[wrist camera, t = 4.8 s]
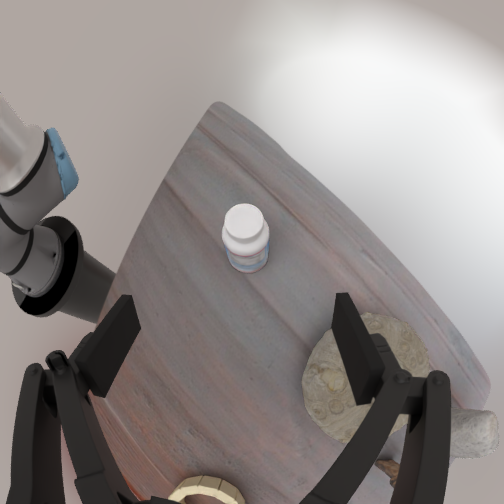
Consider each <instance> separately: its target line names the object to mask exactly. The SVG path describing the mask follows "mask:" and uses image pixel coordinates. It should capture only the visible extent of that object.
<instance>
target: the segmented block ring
mask: <svg viewBox="0 0 504 504" xmlns="http://www.w3.org/2000/svg"><path fill="white" fill-rule="evenodd" d="M221 480H222V479H220V478H215V477H210V476H205V475H204V477H203V475H202V476H197V477H191V478H187V479H185V480H184V481H183V482H182V483H181V484H179V485H178V486H177V487H176V489H175V490H174V491H173V492H172V494H171V495H170V496H169V498H168V500H174V501H177V502H179V503H182V504H186V503H185V501H184V499H185V496H186V495H193V494H199V493H200V494H205V495H209V496H214V497H216V498H218V499H219V500H221V501H223V502H224V503H226V504H245V500H244V498H243V496H242V495H241V493H240V491H239V489H237V488H236V487H235V486H233V485H231V484H230V483H228V482H227V481H225V480H222V481H221Z"/></svg>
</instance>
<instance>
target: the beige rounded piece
mask: <svg viewBox="0 0 504 504" xmlns="http://www.w3.org/2000/svg"><path fill="white" fill-rule="evenodd" d="M360 316H361V318H362V320H363V322H364V324H365V326H366V328H367V330H368V332H369V334H374V333H380V334H381V335H382V336H383V337H384V338H385V339H386V340H387V342H388V344H389V346H390V348H391V351H393V353H394V355H395V357H396V359H397V361H398V363H399V365H400V367H401V368H402V369H405V370H407V371H409V372H410V373H411V374H412V376H413V377H427V376H428V374H429V369H430V367H429V363H428V360H429V358H428V354H427V349H426V348H425V344H424V342H423V341H422V340H421V339H420V338H419V337H418V335H417V334H416V332H415V331H414V330H413V329H412V328H411V327H410V326H409V325H408V323H407V322H402V321H400V320H398V319H395V318H392V317H389V316H386V315H379V314H370V313H369V312H366V313H364V314H362V315H360ZM301 383H302V389H303V397H304V403H305V407H306V409H307V411H308V413H309V414H310V416H311V419H312V420H313V421H314V422H315V423H317V424H318V425H319V427H320V429H321V430H322V431H324V432H325V433H326V434H327V435H328V436H330V437H331V438H333V439H336V440H338V441H339V442H341V443H345V442H346V443H349V441H350V440H351V438H352V437H353V435H354V434H355V432H356V431H357V429H358V428H359V426H360V424H361V423H362V421H363V420H364V418H365V416H366V415H367V413H368V411H369V410H370V408H371V406H372V404H373V403H374V401H375V399H374V397H373V399H372V401H371V404H366V405H360V406H356V402H355V399H354V396H353V393H352V389H351V386H350V383H349V380H348V377H347V374H346V371H345V368H344V364H343V361H342V358H341V355H340V352H339V350H338V347H337V344H336V341H335V338H334V335H333V332H332V329H329V330H328V331H326V332H325V333H324V335H323V337H322V339H321V340H320V341H318V343H317V344H316V346H315V347H314V349H313V351H312V353H311V355H310V357H309V359H308V362H307V365H306V369H305V370H304V373H303V377H302V382H301ZM407 423H408V415H407V414H399V416H398V418H397V420H396V422H395V424H394V426H393V428H392V430H391V432H390V434H389V436H391V435H392V434H393V433H394V432H395V431H398V430H399V429H401V428H402V426H403V425H405V424H407ZM389 436H388V437H389Z"/></svg>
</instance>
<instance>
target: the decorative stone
mask: <svg viewBox="0 0 504 504" xmlns="http://www.w3.org/2000/svg"><path fill="white" fill-rule="evenodd" d="M498 444H499V434H498V421H497V417H496V415H495V414H494V413H493V412H491V411H481V410H473V409H458V408H453V407H451V443H450V456H451V457H456V458H472V459H474V458H480V457H483V456H486V455H488V454H491V453H492V452H493V451H494V450H495V449H496V448H497V446H498Z"/></svg>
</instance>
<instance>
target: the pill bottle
mask: <svg viewBox="0 0 504 504" xmlns="http://www.w3.org/2000/svg"><path fill="white" fill-rule="evenodd" d="M222 239H223V242H224V246H225V249H226V252H227V255H228V259H229V261H230V263H231V265H232V266H233V267H234V268H235V269H237V270H238V271H241V272H244V273H253V272H256V271H259V270H260V269H261V268H263V267H264V265H265V264H266V262H267V260H268V254H269V227H268V225H267V223H266V221H265V220H264V218H263V215H262V213H261V211H260V210H259V209H258V208H257V207H255V206H253V205H251V204H238V205H236V206H234V207H232V208H231V209H230V210H229V211H228V212H227V214H226V216H225V221H224V225H223V229H222Z"/></svg>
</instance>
